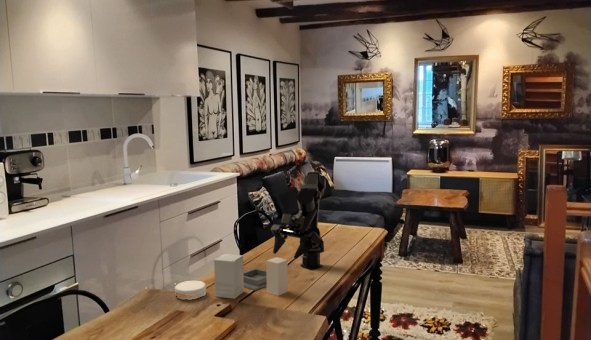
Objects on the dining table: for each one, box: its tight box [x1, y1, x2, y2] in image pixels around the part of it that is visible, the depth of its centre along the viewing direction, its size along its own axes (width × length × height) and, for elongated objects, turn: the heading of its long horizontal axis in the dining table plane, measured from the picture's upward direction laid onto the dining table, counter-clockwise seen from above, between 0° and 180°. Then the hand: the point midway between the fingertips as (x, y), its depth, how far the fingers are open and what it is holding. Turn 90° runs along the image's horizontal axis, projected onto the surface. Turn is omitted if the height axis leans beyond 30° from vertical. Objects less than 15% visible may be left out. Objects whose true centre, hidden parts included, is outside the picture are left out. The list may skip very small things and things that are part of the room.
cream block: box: [265, 256, 289, 297], centre depth 158 cm, size 5×5×11 cm
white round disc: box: [174, 280, 207, 297], centre depth 156 cm, size 10×10×4 cm
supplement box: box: [213, 253, 245, 300], centre depth 156 cm, size 7×7×13 cm
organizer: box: [243, 267, 267, 291], centre depth 169 cm, size 14×12×3 cm
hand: (284, 255), depth 160 cm, fingers open, 9 cm apart
